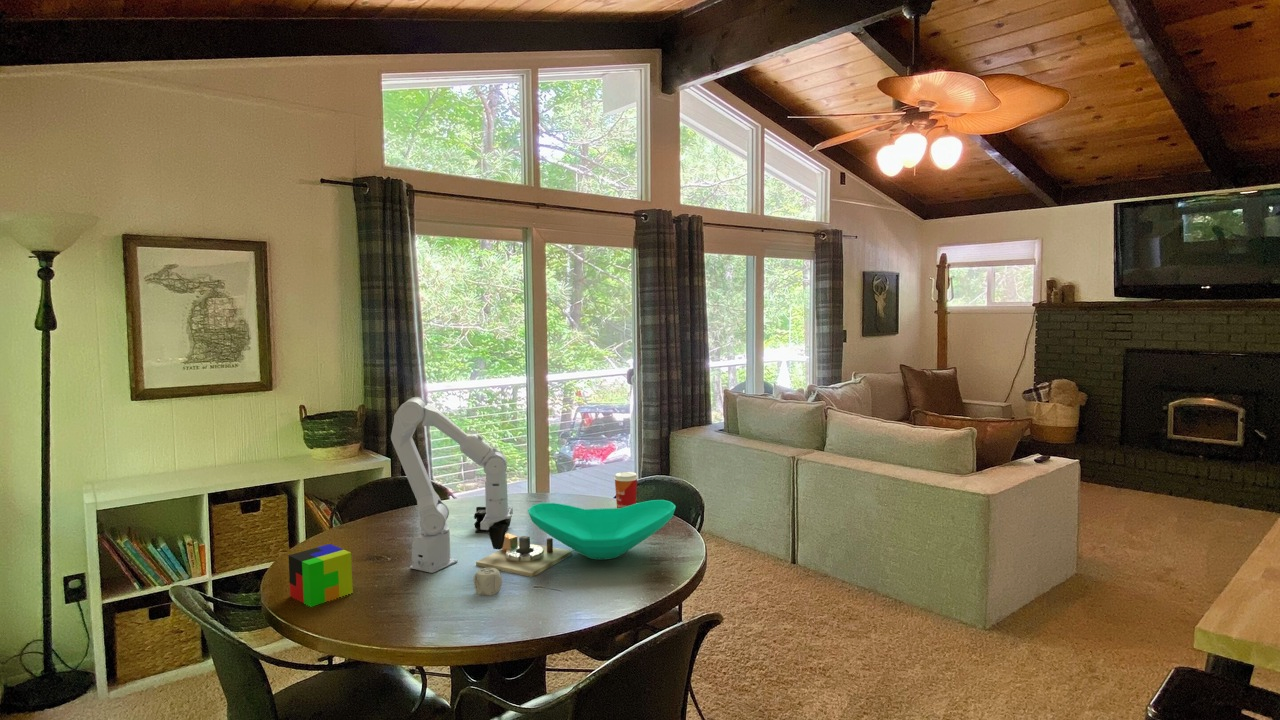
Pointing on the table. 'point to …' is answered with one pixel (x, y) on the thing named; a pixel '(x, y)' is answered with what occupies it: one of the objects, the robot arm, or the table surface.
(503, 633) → the table surface
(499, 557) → the board
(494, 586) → the die
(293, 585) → the puzzle toy
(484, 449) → the robot arm
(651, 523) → the table top decor
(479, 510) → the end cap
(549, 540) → the dowel
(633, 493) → the paper cup
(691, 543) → the table surface
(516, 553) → the flange
